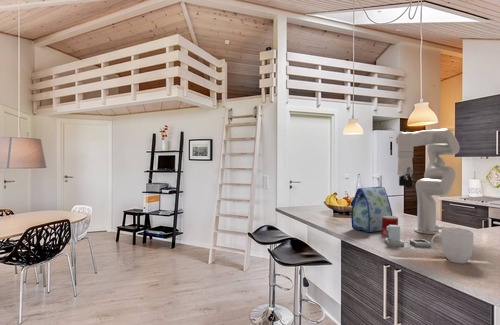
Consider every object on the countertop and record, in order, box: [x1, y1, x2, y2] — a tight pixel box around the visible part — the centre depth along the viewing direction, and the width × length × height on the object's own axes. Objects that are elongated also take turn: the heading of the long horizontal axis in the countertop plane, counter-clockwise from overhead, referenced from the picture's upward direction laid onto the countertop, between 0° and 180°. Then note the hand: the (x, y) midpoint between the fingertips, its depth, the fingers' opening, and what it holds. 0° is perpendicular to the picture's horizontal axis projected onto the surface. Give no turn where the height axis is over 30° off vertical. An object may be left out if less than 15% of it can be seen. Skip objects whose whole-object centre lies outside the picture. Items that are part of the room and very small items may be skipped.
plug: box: [387, 224, 401, 241], centre depth 148 cm, size 5×4×9 cm
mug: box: [430, 226, 474, 264], centre depth 127 cm, size 15×11×13 cm
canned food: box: [381, 215, 399, 237], centre depth 167 cm, size 8×8×11 cm
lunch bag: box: [350, 186, 393, 233], centre depth 184 cm, size 22×17×26 cm
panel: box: [379, 237, 435, 251], centre depth 147 cm, size 22×14×3 cm, turn 81°
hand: (405, 186), depth 163 cm, fingers open, 9 cm apart
